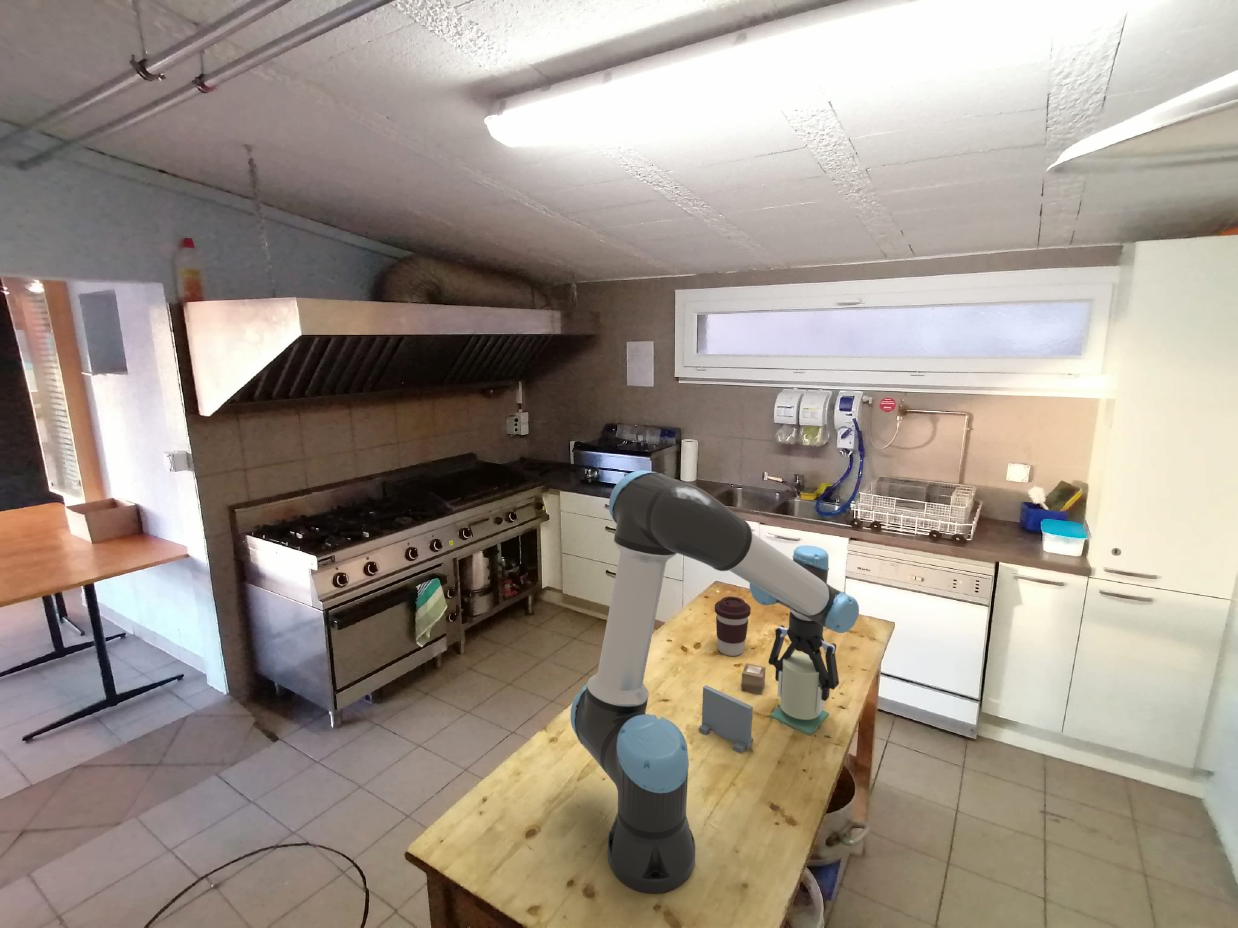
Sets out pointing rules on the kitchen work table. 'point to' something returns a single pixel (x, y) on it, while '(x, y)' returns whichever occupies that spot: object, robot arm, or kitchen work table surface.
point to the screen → (727, 718)
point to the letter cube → (753, 678)
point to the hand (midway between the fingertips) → (800, 701)
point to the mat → (799, 721)
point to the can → (799, 687)
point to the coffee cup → (731, 625)
